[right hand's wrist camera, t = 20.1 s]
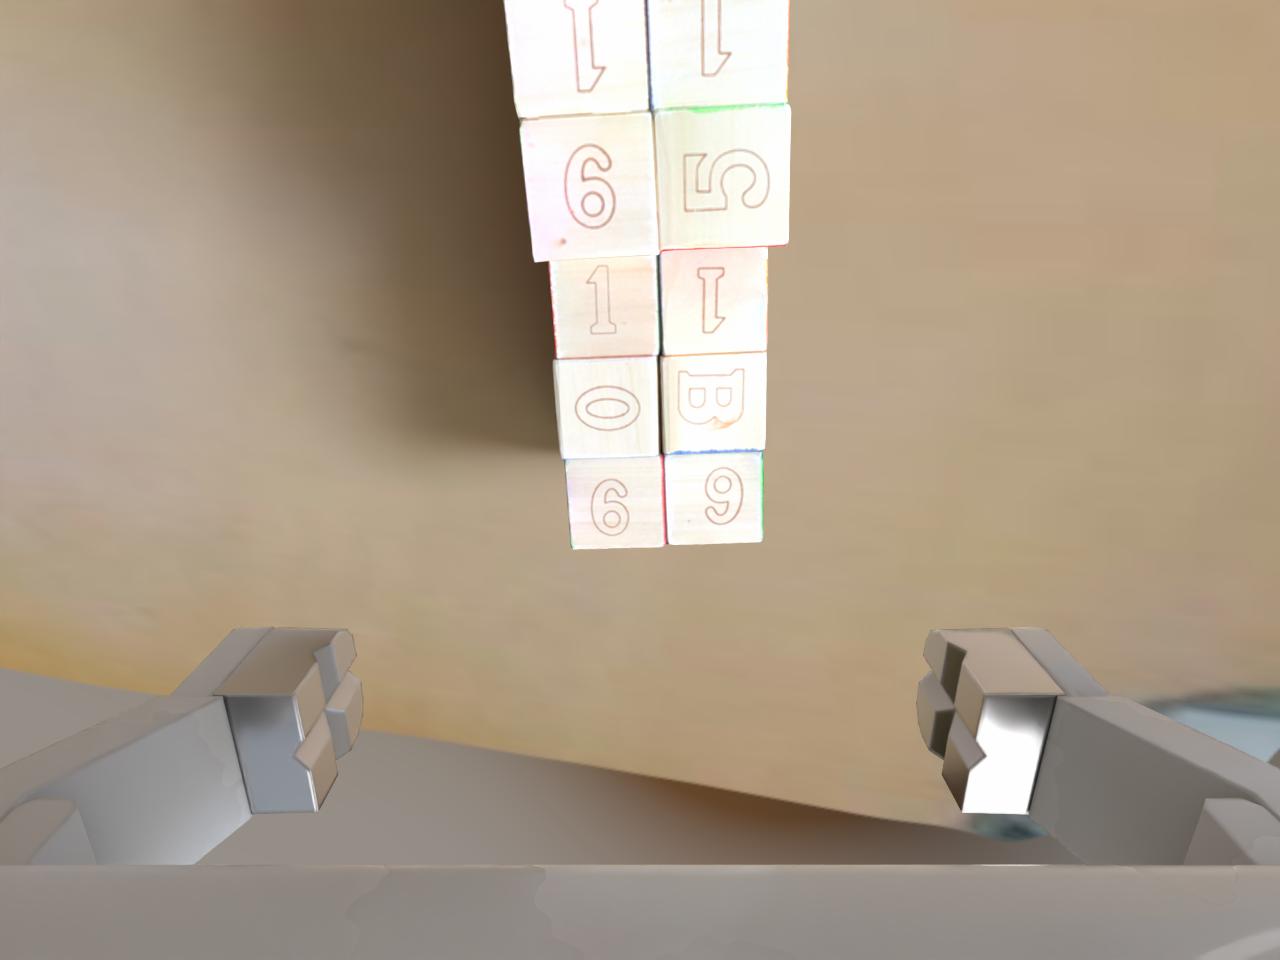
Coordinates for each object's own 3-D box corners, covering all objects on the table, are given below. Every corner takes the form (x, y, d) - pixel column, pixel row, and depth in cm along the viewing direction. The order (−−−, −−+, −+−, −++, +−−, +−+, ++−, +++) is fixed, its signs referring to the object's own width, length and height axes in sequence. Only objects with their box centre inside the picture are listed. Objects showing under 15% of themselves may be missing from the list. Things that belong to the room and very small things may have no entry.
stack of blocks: (730, 452, 32) (779, 596, 20) (585, 457, 32) (553, 603, 20) (735, -165, 24) (820, -493, 13) (545, -157, 24) (459, -474, 13)
